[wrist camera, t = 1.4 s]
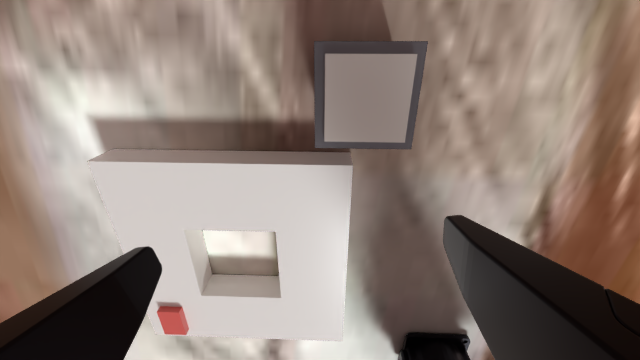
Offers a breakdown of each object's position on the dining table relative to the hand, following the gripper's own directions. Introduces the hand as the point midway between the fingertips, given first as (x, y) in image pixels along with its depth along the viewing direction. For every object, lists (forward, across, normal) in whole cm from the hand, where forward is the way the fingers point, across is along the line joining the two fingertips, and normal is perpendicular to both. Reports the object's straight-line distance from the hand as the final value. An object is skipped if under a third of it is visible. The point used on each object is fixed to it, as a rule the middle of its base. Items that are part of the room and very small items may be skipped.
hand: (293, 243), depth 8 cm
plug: (+13, -3, -3) cm, 13 cm away
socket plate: (+12, +8, +10) cm, 18 cm away
